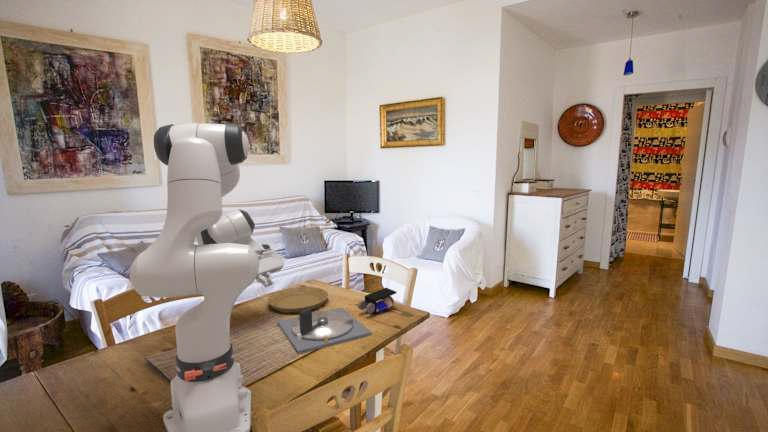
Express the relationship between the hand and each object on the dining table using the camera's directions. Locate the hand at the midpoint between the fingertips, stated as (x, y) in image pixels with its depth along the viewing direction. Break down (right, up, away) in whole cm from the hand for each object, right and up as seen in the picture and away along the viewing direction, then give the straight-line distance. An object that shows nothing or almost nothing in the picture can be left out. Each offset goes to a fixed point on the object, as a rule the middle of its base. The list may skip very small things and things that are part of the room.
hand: (269, 285), depth 130 cm
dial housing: (+19, -15, -1) cm, 24 cm away
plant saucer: (+5, -12, +24) cm, 27 cm away
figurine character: (+38, -13, +15) cm, 42 cm away
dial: (+19, -14, -1) cm, 23 cm away
